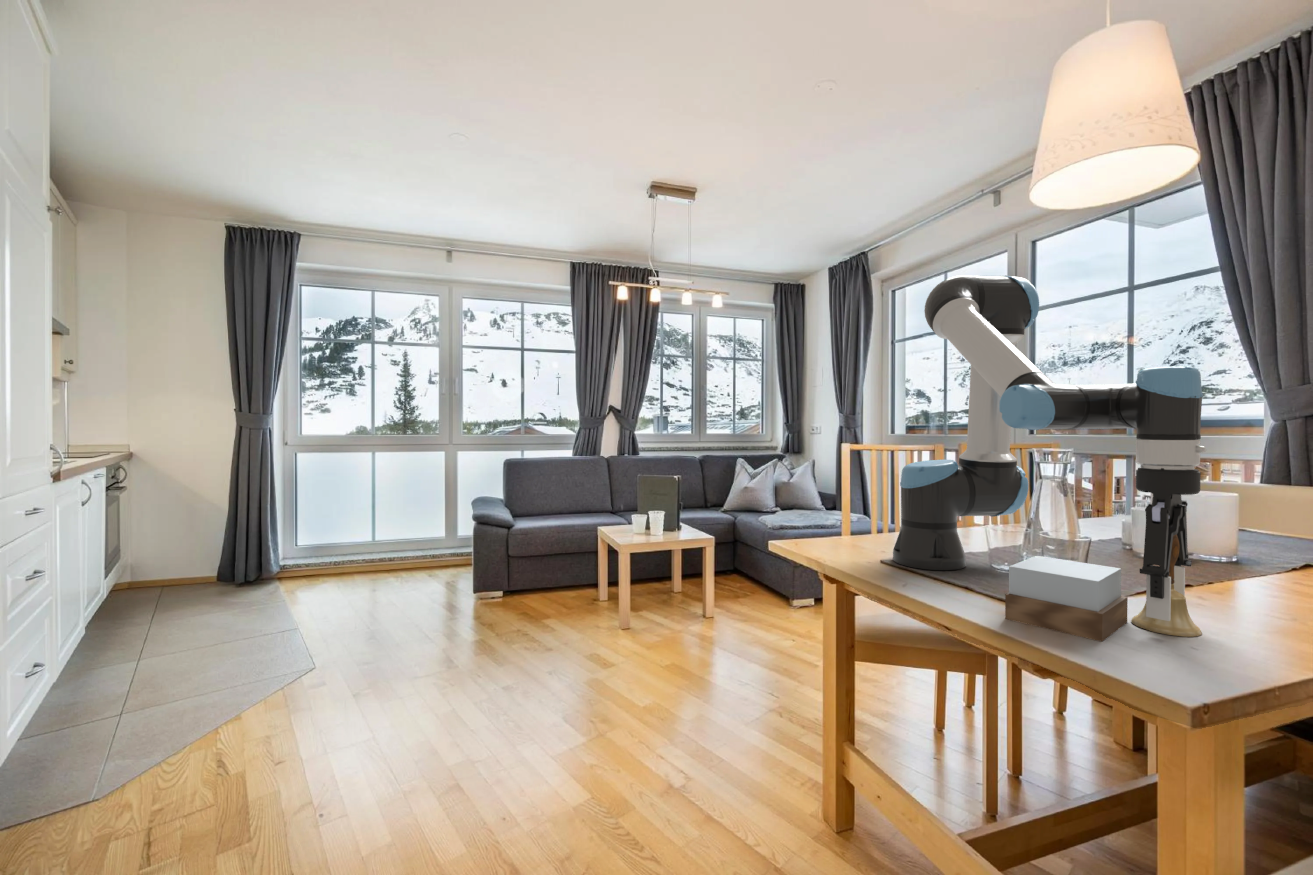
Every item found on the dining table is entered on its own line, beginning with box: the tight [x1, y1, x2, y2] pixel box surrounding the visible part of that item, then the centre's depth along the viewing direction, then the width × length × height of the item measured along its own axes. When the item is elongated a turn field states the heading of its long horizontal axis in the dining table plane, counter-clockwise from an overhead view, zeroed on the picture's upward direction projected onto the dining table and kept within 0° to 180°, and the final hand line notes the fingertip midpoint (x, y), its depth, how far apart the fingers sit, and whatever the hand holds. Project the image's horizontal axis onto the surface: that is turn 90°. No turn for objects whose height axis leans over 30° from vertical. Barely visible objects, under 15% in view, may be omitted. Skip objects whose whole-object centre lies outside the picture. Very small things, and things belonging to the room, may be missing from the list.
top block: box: [1008, 555, 1122, 612], centre depth 94 cm, size 12×12×4 cm
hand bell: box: [1130, 534, 1203, 638], centre depth 90 cm, size 8×8×16 cm
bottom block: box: [1004, 592, 1128, 643], centre depth 94 cm, size 13×13×4 cm
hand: (1165, 611), depth 90 cm, fingers open, 9 cm apart
